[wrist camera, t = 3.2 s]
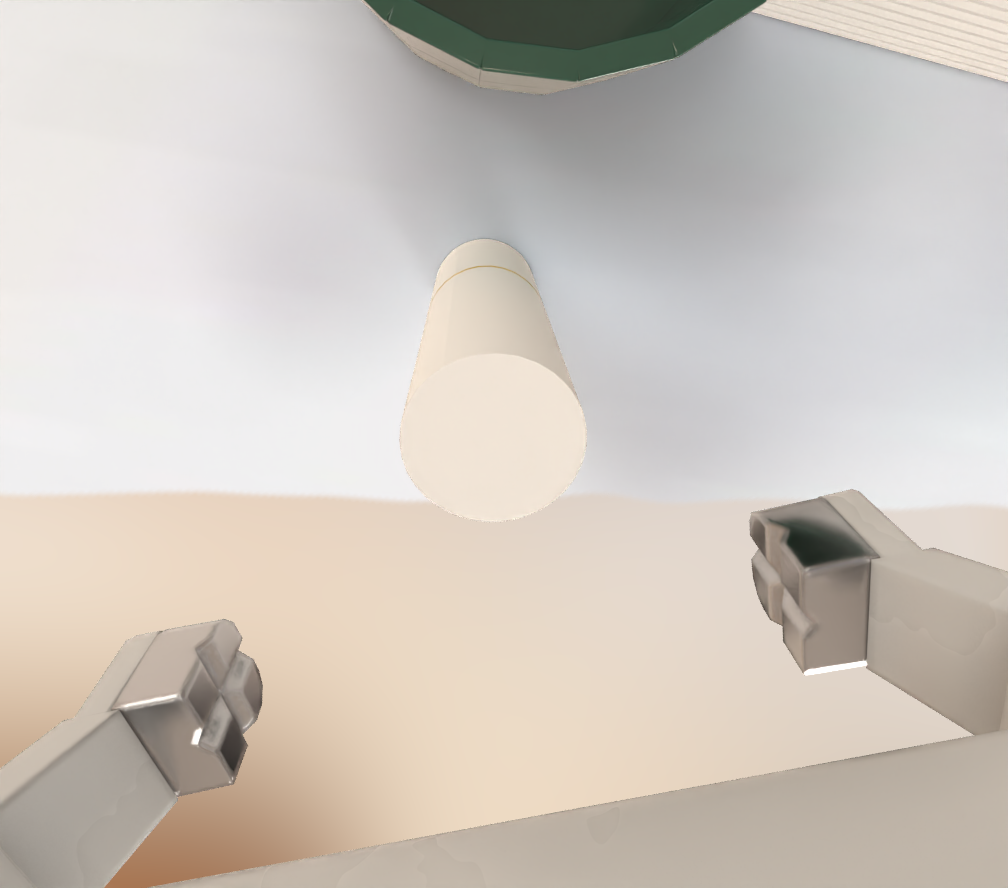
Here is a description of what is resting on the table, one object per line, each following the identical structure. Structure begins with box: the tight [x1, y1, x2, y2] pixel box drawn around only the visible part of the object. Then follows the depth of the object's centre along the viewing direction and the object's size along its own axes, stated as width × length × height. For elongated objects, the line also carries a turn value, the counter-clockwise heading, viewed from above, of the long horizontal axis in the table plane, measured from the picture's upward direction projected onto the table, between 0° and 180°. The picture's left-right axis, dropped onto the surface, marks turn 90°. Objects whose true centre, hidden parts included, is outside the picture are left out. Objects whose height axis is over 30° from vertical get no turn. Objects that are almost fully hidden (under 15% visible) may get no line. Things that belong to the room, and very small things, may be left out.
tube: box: [399, 239, 587, 522], centre depth 22 cm, size 4×4×15 cm
